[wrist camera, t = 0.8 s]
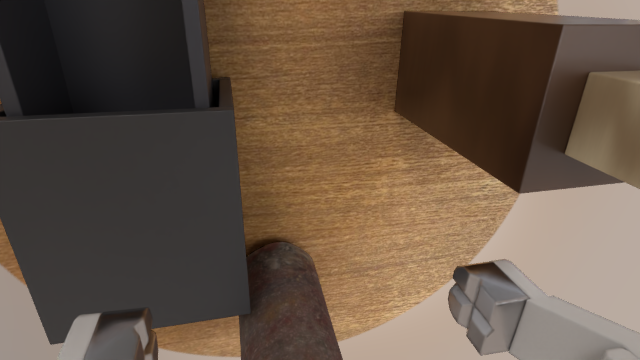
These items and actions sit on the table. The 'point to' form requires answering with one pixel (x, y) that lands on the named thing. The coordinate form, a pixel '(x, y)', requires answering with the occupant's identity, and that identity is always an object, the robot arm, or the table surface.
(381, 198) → the table surface
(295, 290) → the brown cylinder
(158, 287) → the dark box sleeve
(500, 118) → the stand
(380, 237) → the table surface
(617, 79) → the cube
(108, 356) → the robot arm
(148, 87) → the drawer
